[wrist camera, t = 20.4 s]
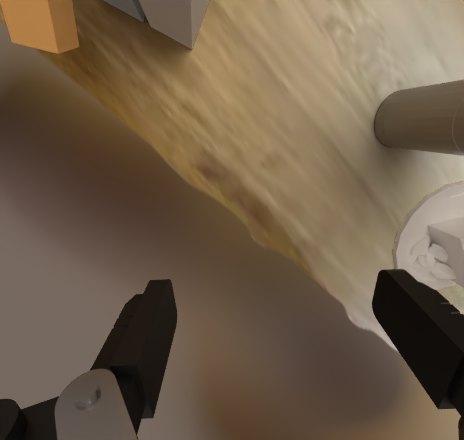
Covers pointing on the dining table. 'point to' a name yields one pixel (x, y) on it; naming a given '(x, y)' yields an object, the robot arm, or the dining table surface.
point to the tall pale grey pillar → (176, 18)
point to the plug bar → (42, 24)
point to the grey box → (129, 8)
